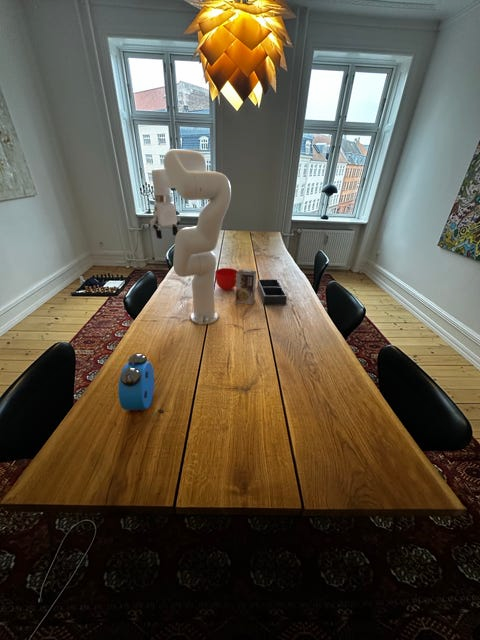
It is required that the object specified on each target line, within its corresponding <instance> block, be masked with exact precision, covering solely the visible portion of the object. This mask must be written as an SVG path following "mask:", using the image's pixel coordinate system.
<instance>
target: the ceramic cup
mask: <svg viewBox="0 0 480 640" xmlns="http://www.w3.org/2000/svg"><path fill="white" fill-rule="evenodd" d="M238 271H239V270H237V269H235V268H228V267H223V268H218V269H215V274H214V278H215V281H216V284H217V286H218V287H219V289H220V290H222V291H231V290H233V289H234V288H236V273H237V272H238Z"/></svg>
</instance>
